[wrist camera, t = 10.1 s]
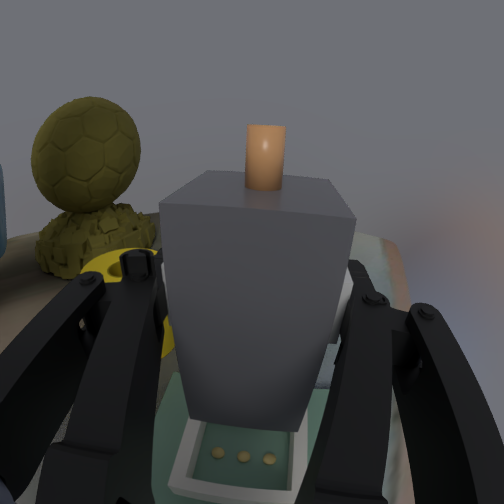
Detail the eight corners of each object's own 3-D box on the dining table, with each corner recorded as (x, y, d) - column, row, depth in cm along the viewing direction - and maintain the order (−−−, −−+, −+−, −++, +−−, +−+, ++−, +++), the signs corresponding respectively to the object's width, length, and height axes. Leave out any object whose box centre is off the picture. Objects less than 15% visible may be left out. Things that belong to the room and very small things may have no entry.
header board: (123, 518, 12) (105, 507, 10) (175, 380, 26) (170, 354, 25) (339, 547, 11) (358, 542, 9) (333, 398, 25) (344, 373, 23)
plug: (189, 418, 11) (156, 125, 6) (212, 348, 16) (208, 123, 11) (298, 432, 11) (367, 138, 6) (298, 358, 16) (333, 131, 10)
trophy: (26, 274, 41) (1, 112, 28) (82, 230, 61) (73, 106, 48) (119, 290, 40) (102, 81, 27) (165, 235, 60) (162, 92, 47)
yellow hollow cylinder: (160, 375, 27) (144, 303, 23) (86, 352, 28) (61, 285, 24) (188, 318, 36) (183, 252, 32) (122, 306, 37) (110, 244, 33)
